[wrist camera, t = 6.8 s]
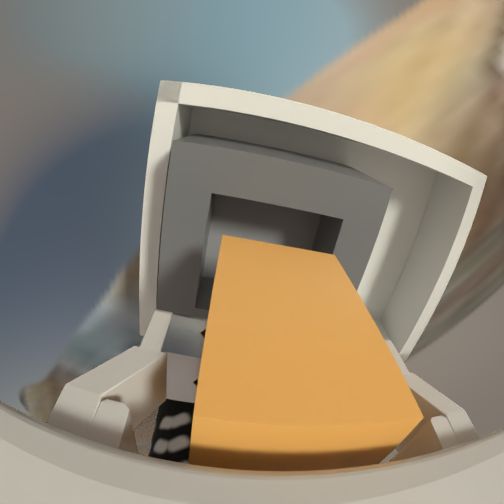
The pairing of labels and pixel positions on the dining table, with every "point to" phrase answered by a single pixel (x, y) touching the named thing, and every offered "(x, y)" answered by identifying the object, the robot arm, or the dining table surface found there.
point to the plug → (294, 367)
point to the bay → (368, 151)
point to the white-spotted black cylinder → (173, 431)
